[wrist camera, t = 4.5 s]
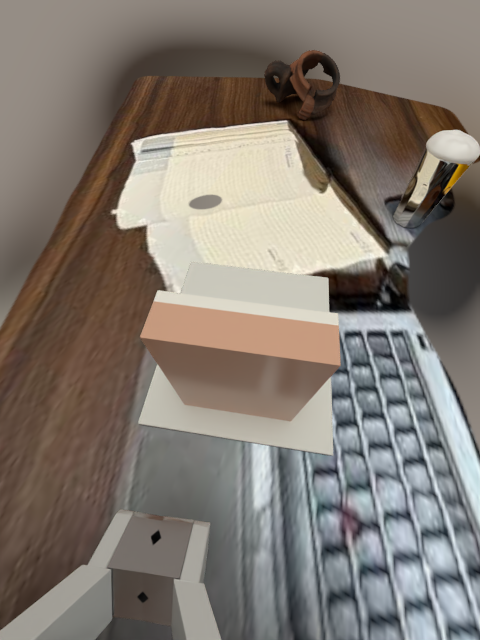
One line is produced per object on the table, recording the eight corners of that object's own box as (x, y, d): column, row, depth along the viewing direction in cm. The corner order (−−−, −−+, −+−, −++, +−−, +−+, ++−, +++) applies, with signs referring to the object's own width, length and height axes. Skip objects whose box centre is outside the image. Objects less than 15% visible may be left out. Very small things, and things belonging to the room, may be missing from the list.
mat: (331, 455, 19) (333, 455, 19) (139, 424, 20) (137, 423, 20) (327, 280, 27) (328, 278, 27) (191, 264, 28) (190, 261, 28)
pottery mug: (320, 98, 51) (347, 54, 43) (315, 145, 50) (341, 109, 42) (259, 75, 48) (276, 24, 40) (253, 125, 47) (269, 82, 39)
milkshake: (437, 235, 31) (514, 140, 22) (389, 229, 31) (447, 134, 23) (429, 210, 33) (496, 115, 25) (384, 205, 34) (435, 110, 25)
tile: (290, 421, 20) (340, 365, 10) (184, 404, 20) (139, 337, 11) (292, 389, 21) (338, 313, 12) (192, 374, 22) (157, 290, 12)
